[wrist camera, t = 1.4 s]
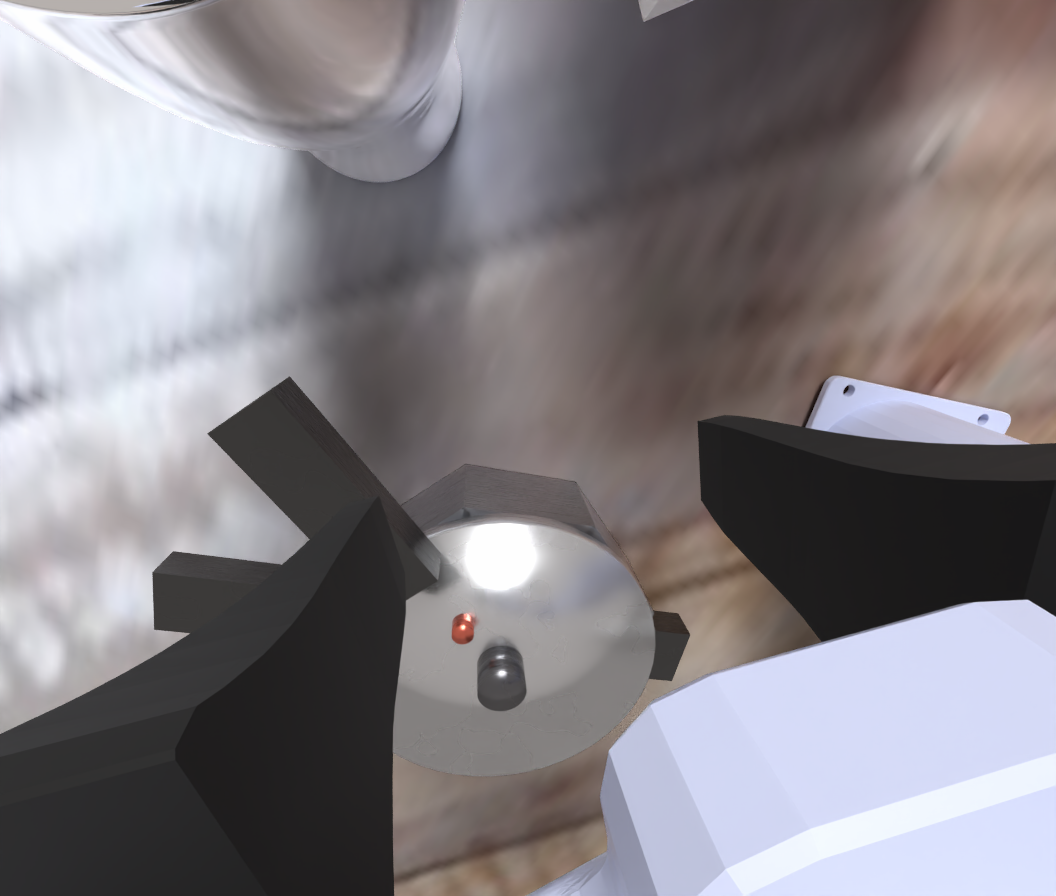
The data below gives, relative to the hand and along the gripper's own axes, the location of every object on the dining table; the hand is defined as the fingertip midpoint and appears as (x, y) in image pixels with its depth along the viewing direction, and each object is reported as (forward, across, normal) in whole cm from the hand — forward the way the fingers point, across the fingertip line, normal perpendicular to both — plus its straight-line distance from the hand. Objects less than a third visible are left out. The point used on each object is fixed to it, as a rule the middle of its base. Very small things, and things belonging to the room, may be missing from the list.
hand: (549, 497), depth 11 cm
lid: (+6, +4, +7) cm, 10 cm away
